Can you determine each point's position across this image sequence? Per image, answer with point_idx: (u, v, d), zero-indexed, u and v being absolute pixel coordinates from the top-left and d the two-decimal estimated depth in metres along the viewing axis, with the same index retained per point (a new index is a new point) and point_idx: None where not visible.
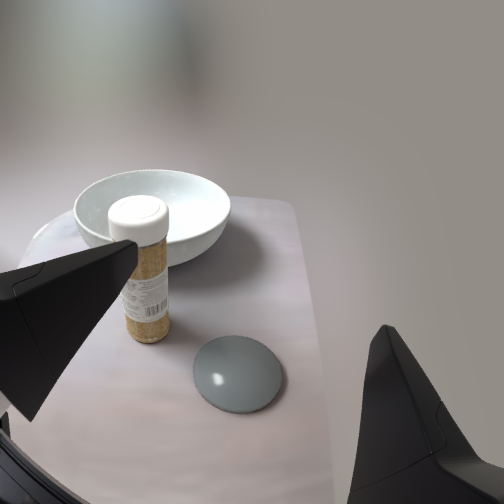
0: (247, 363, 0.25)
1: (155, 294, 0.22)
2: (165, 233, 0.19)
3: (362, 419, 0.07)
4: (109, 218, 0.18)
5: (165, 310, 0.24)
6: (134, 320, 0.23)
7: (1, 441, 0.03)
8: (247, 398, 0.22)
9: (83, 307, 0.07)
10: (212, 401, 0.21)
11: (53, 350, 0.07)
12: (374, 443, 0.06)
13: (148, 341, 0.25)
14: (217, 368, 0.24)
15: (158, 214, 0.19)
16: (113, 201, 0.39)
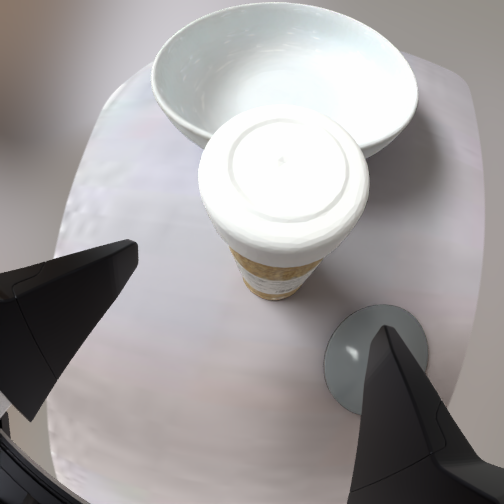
0: None
1: (299, 282, 0.13)
2: None
3: (362, 419, 0.07)
4: (202, 198, 0.07)
5: None
6: (255, 289, 0.16)
7: (1, 441, 0.03)
8: None
9: (83, 307, 0.07)
10: (338, 401, 0.16)
11: (53, 350, 0.07)
12: (374, 443, 0.06)
13: (271, 299, 0.19)
14: (357, 356, 0.17)
15: (347, 201, 0.06)
16: (221, 45, 0.23)
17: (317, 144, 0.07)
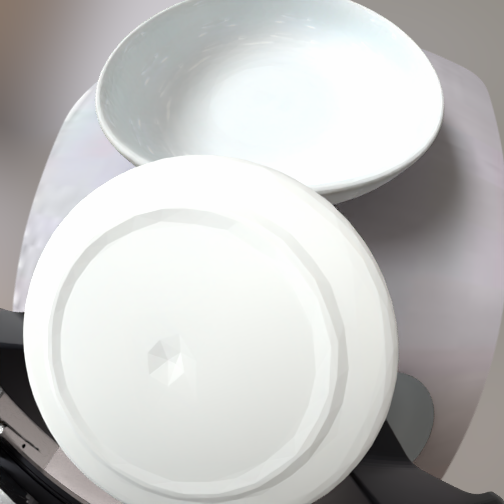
0: (394, 424, 0.13)
1: None
2: None
3: None
4: None
5: None
6: None
7: None
8: None
9: None
10: None
11: None
12: None
13: None
14: None
15: (323, 465, 0.02)
16: (195, 39, 0.18)
17: (262, 301, 0.02)
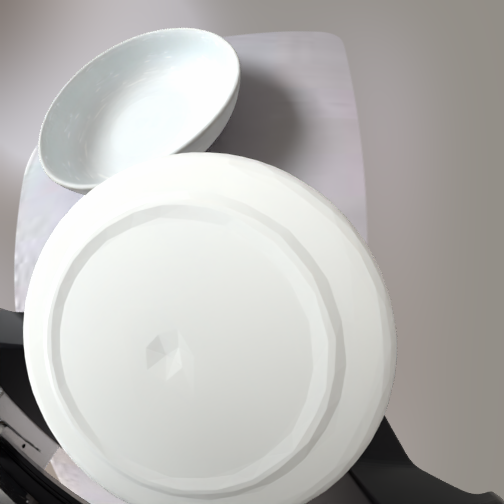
0: None
1: None
2: None
3: None
4: None
5: None
6: None
7: None
8: None
9: None
10: None
11: None
12: None
13: None
14: None
15: (321, 461, 0.02)
16: (94, 94, 0.26)
17: (259, 295, 0.02)
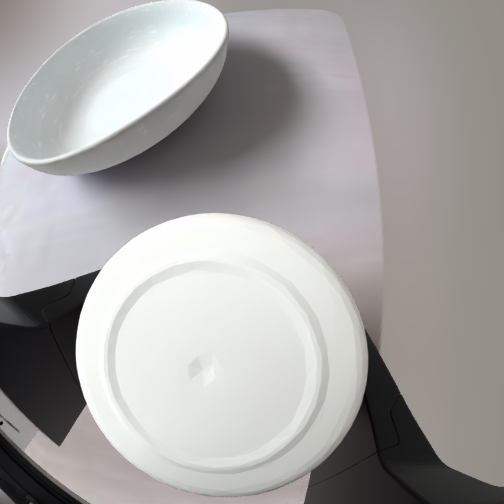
0: None
1: None
2: None
3: None
4: None
5: None
6: None
7: (1, 441, 0.03)
8: None
9: None
10: None
11: None
12: None
13: None
14: None
15: (312, 442, 0.03)
16: (73, 74, 0.21)
17: (270, 328, 0.04)
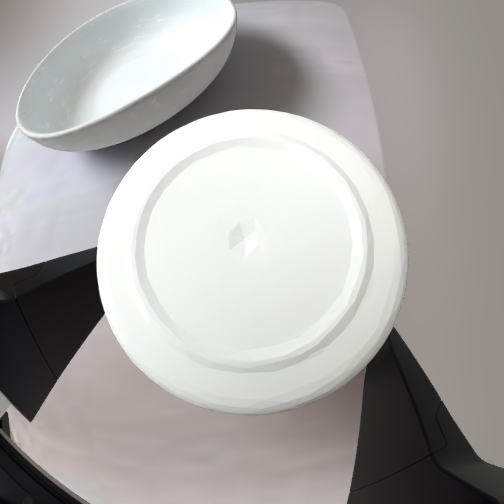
0: None
1: None
2: None
3: (362, 419, 0.07)
4: None
5: None
6: None
7: (1, 441, 0.03)
8: None
9: (83, 307, 0.07)
10: None
11: (53, 350, 0.07)
12: (374, 443, 0.06)
13: None
14: None
15: (365, 323, 0.03)
16: (81, 60, 0.21)
17: (312, 193, 0.04)
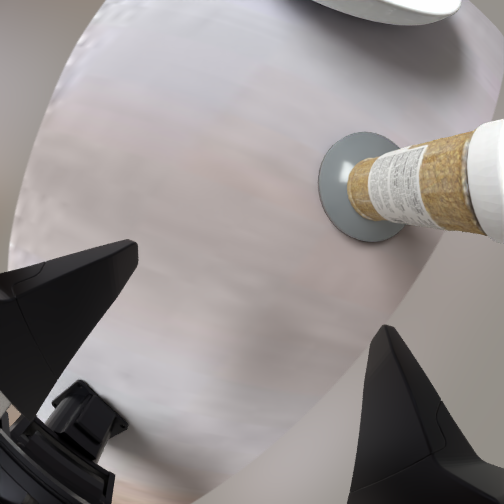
0: None
1: None
2: None
3: (362, 419, 0.07)
4: (498, 158, 0.05)
5: None
6: (371, 202, 0.15)
7: (1, 441, 0.03)
8: (362, 224, 0.19)
9: (83, 307, 0.07)
10: (326, 207, 0.19)
11: (53, 350, 0.07)
12: (374, 443, 0.06)
13: (360, 214, 0.18)
14: None
15: None
16: None
17: None
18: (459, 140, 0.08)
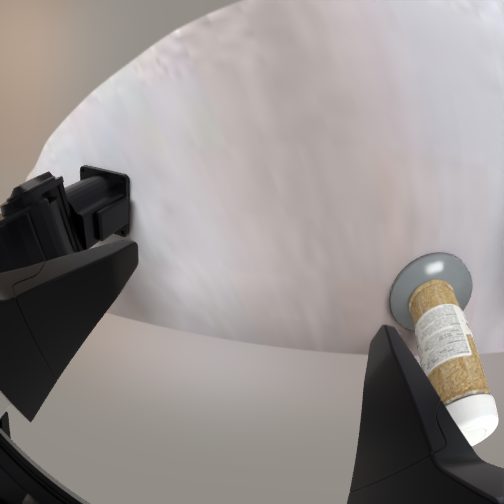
0: None
1: None
2: None
3: (362, 419, 0.07)
4: (467, 420, 0.09)
5: None
6: (421, 316, 0.18)
7: (1, 441, 0.03)
8: (403, 305, 0.22)
9: (83, 307, 0.07)
10: (402, 276, 0.20)
11: (53, 350, 0.07)
12: (374, 443, 0.06)
13: (409, 302, 0.21)
14: (438, 279, 0.20)
15: None
16: None
17: None
18: (477, 382, 0.11)
